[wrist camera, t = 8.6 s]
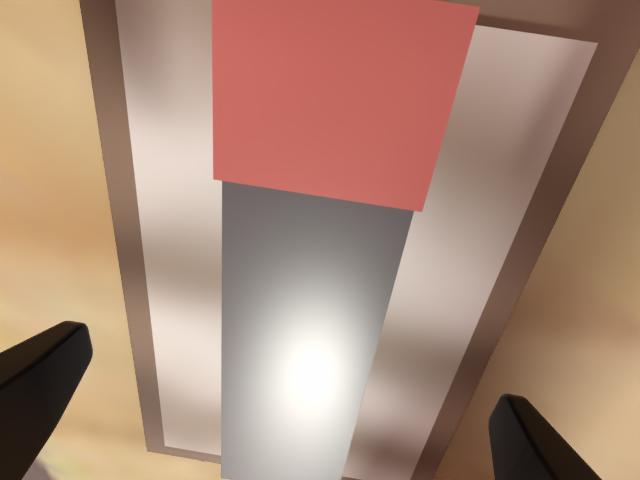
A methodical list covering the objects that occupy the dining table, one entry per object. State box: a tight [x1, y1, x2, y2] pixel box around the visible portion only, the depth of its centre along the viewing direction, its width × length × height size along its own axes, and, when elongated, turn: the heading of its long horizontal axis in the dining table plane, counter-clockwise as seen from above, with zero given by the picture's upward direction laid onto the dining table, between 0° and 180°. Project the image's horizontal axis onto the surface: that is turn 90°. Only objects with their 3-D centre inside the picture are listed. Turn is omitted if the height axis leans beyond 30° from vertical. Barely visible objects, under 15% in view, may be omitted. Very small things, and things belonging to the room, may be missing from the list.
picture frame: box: [79, 0, 640, 480], centre depth 14 cm, size 20×13×1 cm, turn 173°
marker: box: [212, 0, 480, 480], centre depth 11 cm, size 15×4×4 cm, turn 173°
